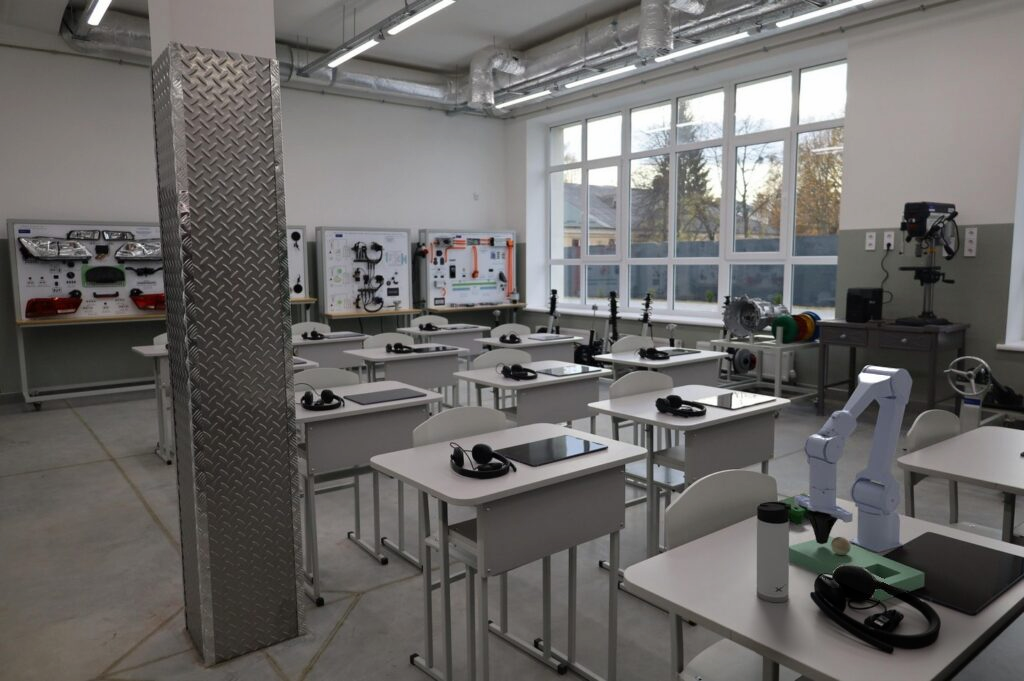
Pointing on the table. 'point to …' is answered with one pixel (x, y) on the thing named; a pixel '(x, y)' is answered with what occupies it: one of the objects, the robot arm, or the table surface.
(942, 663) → the table surface
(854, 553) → the putting board
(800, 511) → the clamp
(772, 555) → the travel mug
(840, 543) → the maple ball
